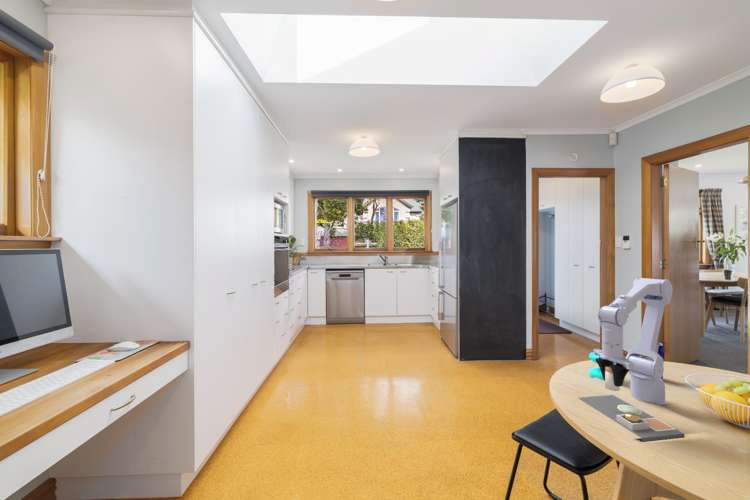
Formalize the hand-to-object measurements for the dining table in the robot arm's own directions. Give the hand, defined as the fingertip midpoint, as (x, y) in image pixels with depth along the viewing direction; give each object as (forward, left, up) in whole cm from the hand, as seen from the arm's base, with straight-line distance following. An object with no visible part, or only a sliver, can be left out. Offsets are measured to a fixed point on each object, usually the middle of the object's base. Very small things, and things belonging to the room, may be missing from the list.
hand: (612, 383), depth 111 cm
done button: (+2, +9, -8) cm, 12 cm away
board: (-1, +3, -10) cm, 11 cm away
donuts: (-19, -26, -10) cm, 34 cm away
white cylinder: (0, 0, -2) cm, 2 cm away
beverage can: (-39, -22, -10) cm, 46 cm away
